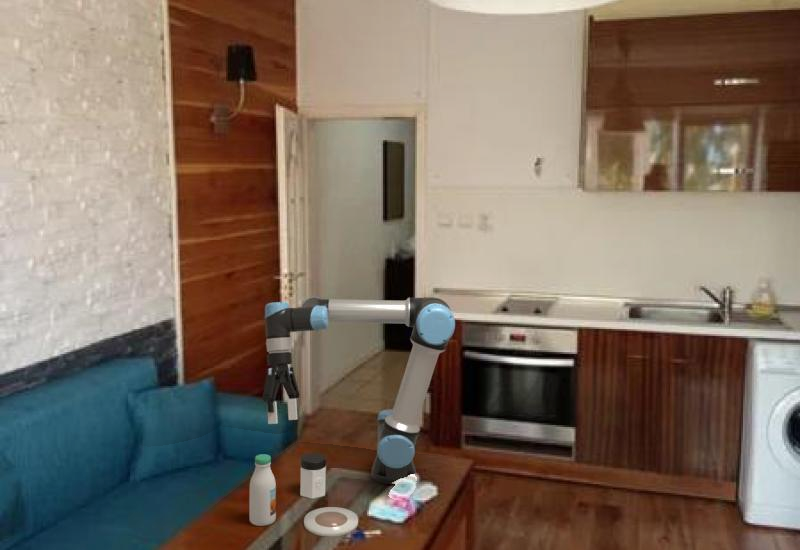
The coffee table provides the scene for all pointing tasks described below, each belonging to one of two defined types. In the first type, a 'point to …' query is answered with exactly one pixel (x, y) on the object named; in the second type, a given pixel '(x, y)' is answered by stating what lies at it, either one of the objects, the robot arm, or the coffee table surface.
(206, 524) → the coffee table surface
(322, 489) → the jar
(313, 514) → the trivet
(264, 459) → the milk bottle
